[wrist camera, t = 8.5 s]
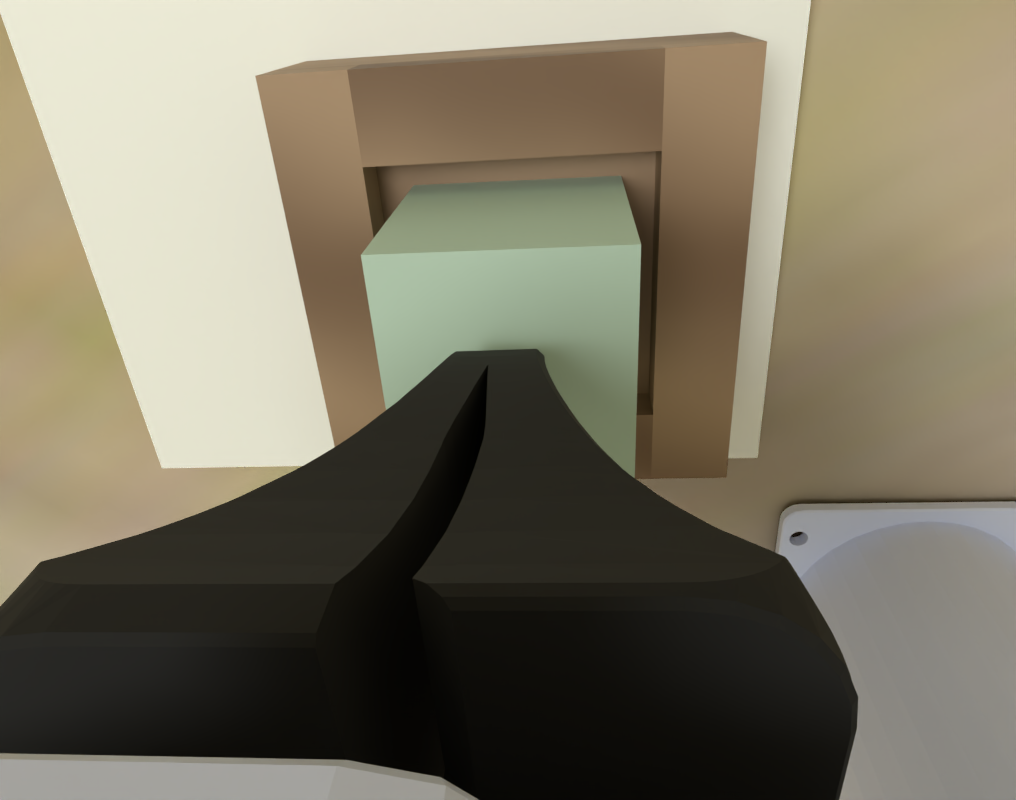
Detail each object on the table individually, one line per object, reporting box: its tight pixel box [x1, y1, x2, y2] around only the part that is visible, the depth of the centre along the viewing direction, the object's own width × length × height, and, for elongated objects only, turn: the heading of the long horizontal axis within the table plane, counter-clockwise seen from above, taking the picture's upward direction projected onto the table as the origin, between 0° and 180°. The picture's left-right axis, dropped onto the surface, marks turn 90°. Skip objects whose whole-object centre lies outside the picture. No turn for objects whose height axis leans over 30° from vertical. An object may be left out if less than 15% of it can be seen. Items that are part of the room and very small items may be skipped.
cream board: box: [0, 0, 811, 468], centre depth 16 cm, size 22×17×1 cm
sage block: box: [361, 176, 641, 478], centre depth 14 cm, size 4×4×4 cm
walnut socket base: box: [255, 32, 767, 479], centre depth 16 cm, size 9×9×3 cm
